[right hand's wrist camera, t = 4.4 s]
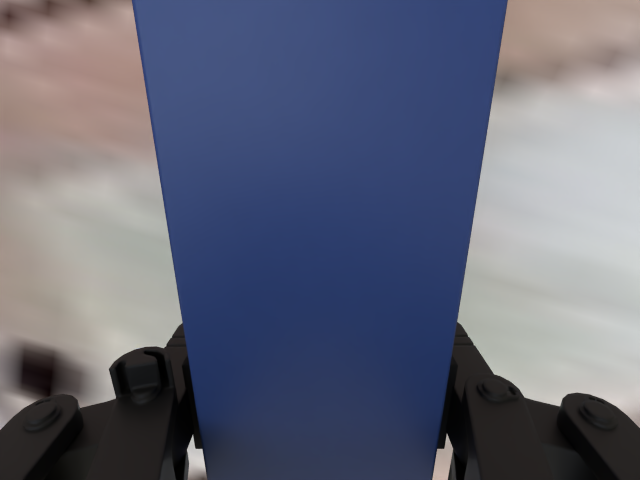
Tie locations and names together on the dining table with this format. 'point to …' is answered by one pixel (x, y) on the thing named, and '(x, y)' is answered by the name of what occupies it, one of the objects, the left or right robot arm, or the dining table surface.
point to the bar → (319, 219)
